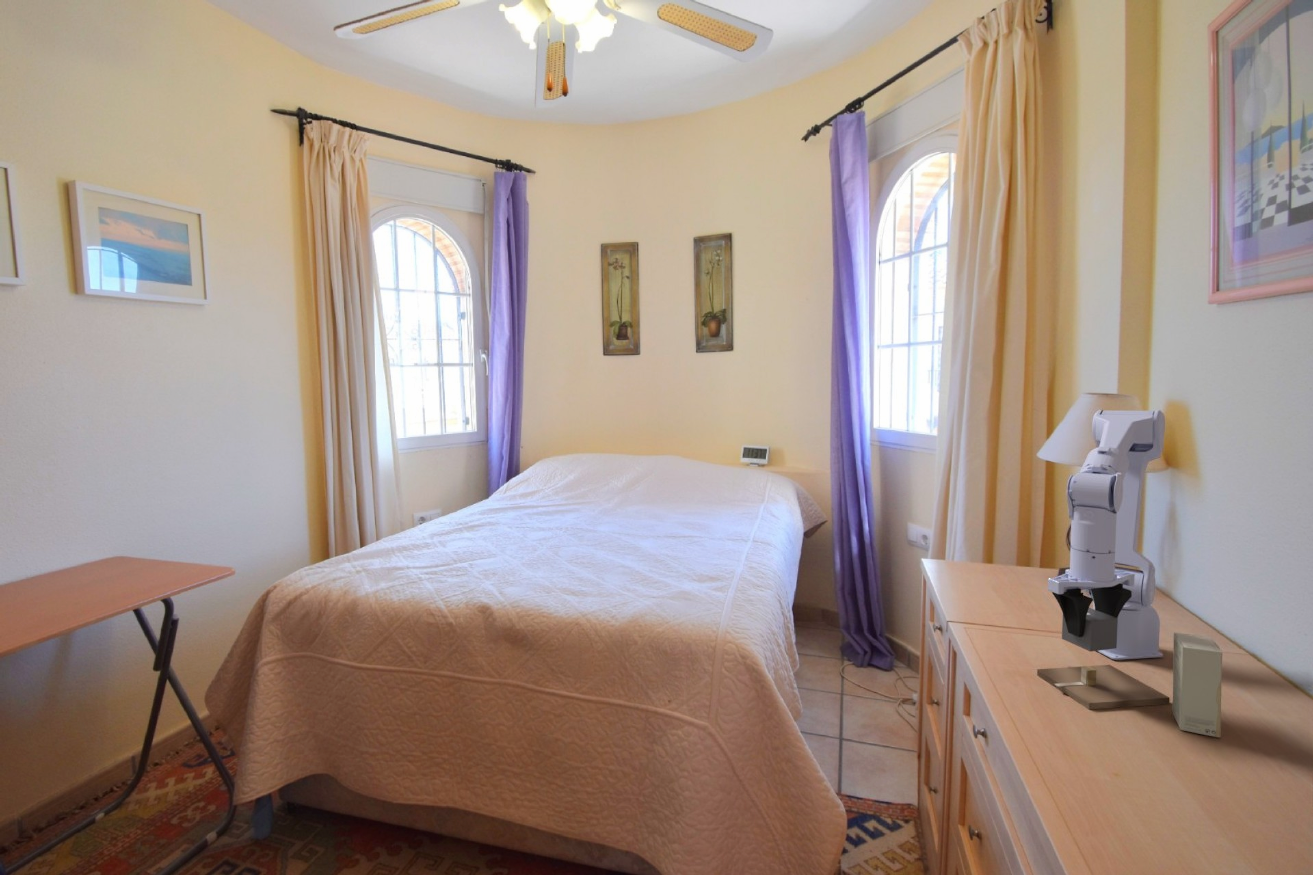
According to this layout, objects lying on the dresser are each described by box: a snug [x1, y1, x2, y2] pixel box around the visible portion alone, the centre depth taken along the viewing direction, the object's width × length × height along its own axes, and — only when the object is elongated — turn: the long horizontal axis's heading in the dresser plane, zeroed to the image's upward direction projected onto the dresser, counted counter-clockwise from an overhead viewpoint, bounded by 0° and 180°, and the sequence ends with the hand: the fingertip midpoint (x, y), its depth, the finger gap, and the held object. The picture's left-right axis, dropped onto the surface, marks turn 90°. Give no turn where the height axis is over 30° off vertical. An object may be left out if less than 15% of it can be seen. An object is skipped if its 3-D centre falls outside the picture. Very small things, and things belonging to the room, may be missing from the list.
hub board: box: [1036, 664, 1171, 710], centre depth 96 cm, size 14×11×4 cm
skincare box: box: [1172, 632, 1223, 739], centre depth 85 cm, size 6×4×12 cm
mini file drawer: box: [1061, 607, 1118, 652], centre depth 95 cm, size 5×5×5 cm
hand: (1089, 632), depth 95 cm, fingers closed on mini file drawer, 5 cm apart
